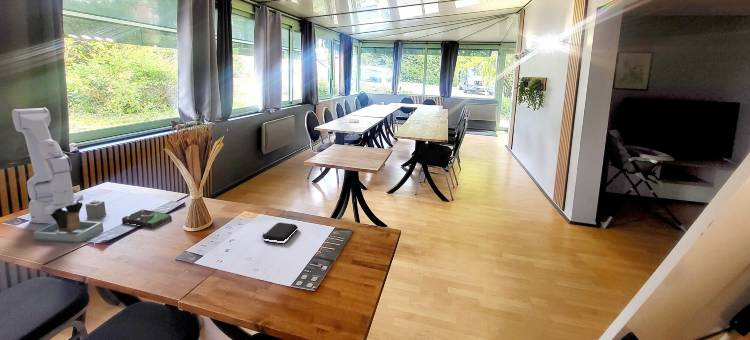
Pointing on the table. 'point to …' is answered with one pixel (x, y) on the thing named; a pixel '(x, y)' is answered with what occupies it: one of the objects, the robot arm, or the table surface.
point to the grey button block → (95, 209)
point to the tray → (68, 233)
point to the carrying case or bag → (280, 231)
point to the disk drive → (147, 218)
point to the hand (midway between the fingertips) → (68, 225)
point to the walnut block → (71, 222)
